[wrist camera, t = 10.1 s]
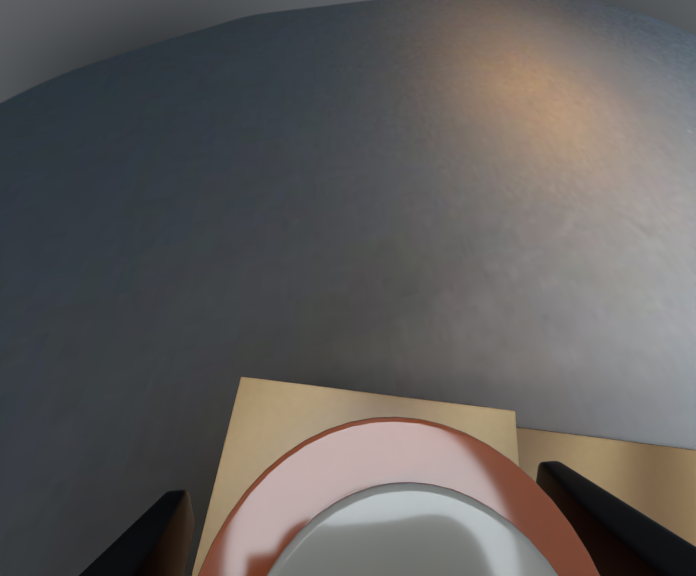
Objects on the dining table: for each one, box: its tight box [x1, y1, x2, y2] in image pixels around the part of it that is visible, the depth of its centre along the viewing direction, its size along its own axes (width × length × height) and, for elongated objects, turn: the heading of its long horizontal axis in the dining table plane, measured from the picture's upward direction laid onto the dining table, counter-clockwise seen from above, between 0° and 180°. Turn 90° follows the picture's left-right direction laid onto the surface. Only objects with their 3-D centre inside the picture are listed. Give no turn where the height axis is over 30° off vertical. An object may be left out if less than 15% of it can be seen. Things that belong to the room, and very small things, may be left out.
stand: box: [192, 377, 696, 576], centre depth 16 cm, size 24×10×4 cm, turn 83°
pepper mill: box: [198, 417, 600, 576], centre depth 8 cm, size 5×5×12 cm
